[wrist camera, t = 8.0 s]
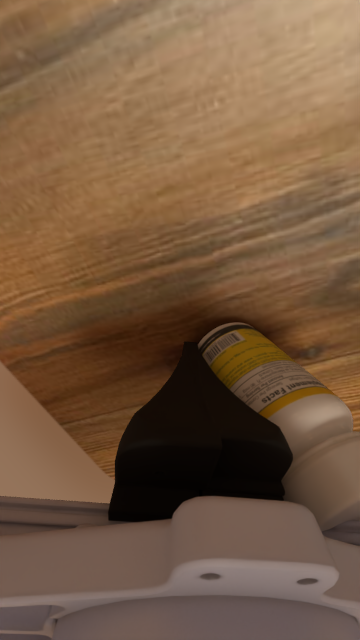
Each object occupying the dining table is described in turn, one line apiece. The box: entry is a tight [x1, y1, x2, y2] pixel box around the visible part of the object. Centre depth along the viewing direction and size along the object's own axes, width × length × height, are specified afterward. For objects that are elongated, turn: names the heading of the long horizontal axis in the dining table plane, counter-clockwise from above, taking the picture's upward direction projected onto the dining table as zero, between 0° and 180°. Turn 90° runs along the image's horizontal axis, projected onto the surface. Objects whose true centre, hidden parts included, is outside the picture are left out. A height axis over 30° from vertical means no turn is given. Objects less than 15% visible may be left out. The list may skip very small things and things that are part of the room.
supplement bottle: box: [198, 322, 360, 531], centre depth 10 cm, size 5×5×8 cm
